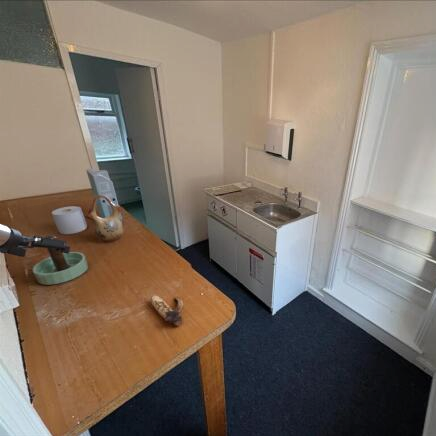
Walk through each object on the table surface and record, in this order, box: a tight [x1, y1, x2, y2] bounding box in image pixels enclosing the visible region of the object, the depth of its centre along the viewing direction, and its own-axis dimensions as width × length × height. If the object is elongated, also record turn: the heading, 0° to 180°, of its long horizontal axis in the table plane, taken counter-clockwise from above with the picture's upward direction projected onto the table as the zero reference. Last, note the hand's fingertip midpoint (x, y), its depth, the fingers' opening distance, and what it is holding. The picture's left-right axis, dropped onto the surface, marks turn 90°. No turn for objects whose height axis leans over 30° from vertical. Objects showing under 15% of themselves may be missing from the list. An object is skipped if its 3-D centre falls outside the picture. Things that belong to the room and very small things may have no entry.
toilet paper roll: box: [51, 206, 88, 235], centre depth 127 cm, size 12×12×12 cm
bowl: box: [32, 251, 89, 286], centre depth 96 cm, size 16×16×6 cm
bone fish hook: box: [150, 294, 184, 327], centre depth 83 cm, size 9×5×18 cm
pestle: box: [44, 234, 71, 272], centre depth 94 cm, size 5×5×18 cm
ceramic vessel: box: [83, 195, 125, 243], centre depth 118 cm, size 16×9×25 cm, turn 140°
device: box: [85, 168, 123, 223], centre depth 137 cm, size 16×8×30 cm, turn 48°
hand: (46, 251), depth 89 cm, fingers open, 13 cm apart
